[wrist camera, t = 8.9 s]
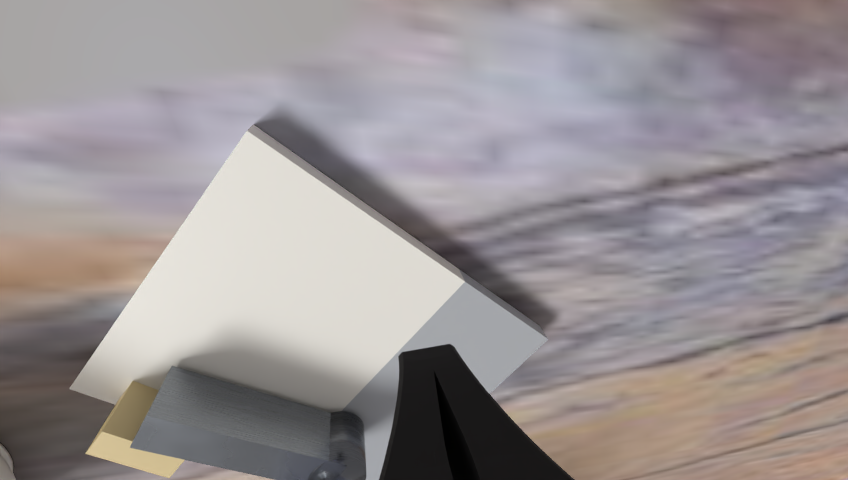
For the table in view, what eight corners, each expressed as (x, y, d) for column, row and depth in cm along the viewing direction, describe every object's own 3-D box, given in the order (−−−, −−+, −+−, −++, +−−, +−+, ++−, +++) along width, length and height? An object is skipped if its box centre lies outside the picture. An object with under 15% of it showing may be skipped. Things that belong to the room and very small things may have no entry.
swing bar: (373, 419, 23) (377, 466, 20) (348, 452, 23) (349, 501, 21) (175, 359, 19) (149, 408, 16) (153, 400, 20) (126, 453, 17)
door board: (539, 325, 24) (573, 376, 20) (377, 478, 27) (382, 544, 24) (253, 124, 16) (228, 149, 13) (83, 370, 20) (27, 442, 16)
